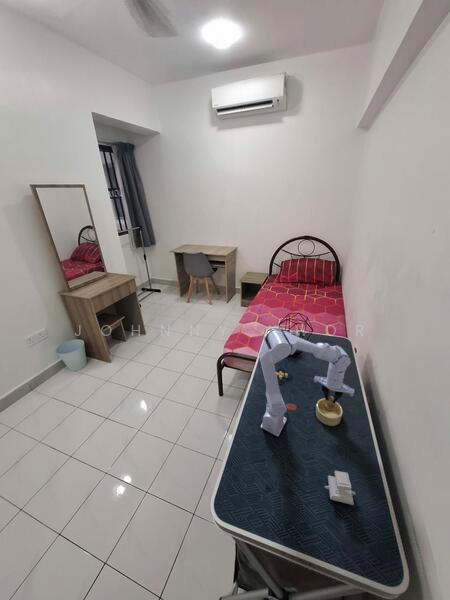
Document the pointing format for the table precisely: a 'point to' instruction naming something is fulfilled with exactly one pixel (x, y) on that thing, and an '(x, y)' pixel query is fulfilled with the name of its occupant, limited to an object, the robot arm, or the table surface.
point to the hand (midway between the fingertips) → (330, 400)
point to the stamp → (340, 488)
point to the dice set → (281, 375)
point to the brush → (329, 404)
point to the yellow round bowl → (328, 414)
